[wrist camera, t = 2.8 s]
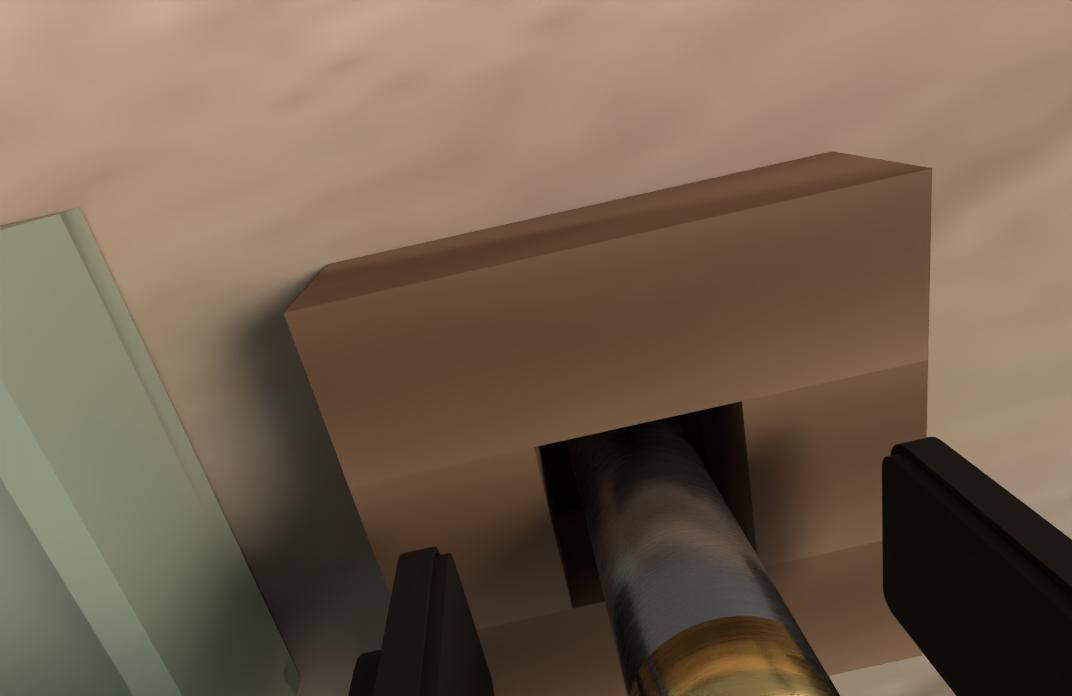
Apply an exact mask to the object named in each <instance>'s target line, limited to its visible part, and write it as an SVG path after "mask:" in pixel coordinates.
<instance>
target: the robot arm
mask: <svg viewBox="0 0 1072 696" xmlns="http://www.w3.org/2000/svg"><path fill="white" fill-rule="evenodd" d="M882 547H883V593H884V597H885V600H886V603H887V605H888V607H889V609H890V611H891V612H892V614H893V615H894V617H895V618H896V619H897V621H898V622H899V623H900V624H901V626H902V627H903V628H904V629H905V631H906V632H907V633H908V635H909V636H910V637H911V638H912V640H913V641H914V642H915V643H916V645H917V646H918V647H919V649H920V650H921V651H922V652H923V654H924V655H925V656H926V658H927V659H928V660H929V661H930V663H931V664H932V665H933V666H934V668H935V669H936V670H937V672H938V673H939V674H940V675H941V677H942V678H943V679H944V680H945V682H946V683H947V684H948V686H949V687H950V688H951V689H952V691H953V692H954V693H955V695H956V696H1072V540H1071V539H1070V538H1069V537H1067V536H1066V535H1065V534H1063V533H1062V532H1061V531H1059V530H1058V529H1057V528H1056V527H1054V526H1053V525H1052V524H1050V523H1049V522H1048V521H1046V520H1045V519H1044V518H1042V517H1041V516H1040V515H1038V514H1037V513H1036V512H1035V511H1033V510H1032V509H1031V508H1029V507H1028V506H1027V505H1025V504H1024V503H1023V502H1021V501H1020V500H1019V499H1017V498H1016V497H1015V496H1013V495H1012V494H1011V493H1010V492H1008V491H1007V490H1006V489H1004V488H1003V487H1002V486H1000V485H999V484H998V483H996V482H995V481H994V480H992V479H991V478H990V477H988V476H987V475H986V474H985V473H983V472H982V471H981V470H979V469H978V468H977V467H975V466H974V465H973V464H971V463H970V462H969V461H967V460H966V459H965V458H963V457H962V456H961V455H960V454H958V453H957V452H956V451H954V450H953V449H952V448H950V447H949V446H948V445H946V444H945V443H944V442H942V441H941V440H939V439H938V438H936V437H927V438H923V439H918V440H914V441H909V442H905V443H900V444H896V445H895V446H893V448H892V450H891V454H890V456H886V457H885V458H884V459H883V461H882ZM348 696H494V689H493V683H492V678H491V674H490V671H489V668H488V665H487V662H486V659H485V656H484V652H483V649H482V646H481V643H480V640H479V637H478V634H477V631H476V627H475V624H474V621H473V618H472V615H471V612H470V609H469V605H468V602H467V599H466V596H465V593H464V590H463V587H462V584H461V580H460V577H459V574H458V571H457V568H456V565H455V562H454V559H453V556H452V554H451V553H446V554H442V555H440V552H439V550H438V549H437V547H435V546H433V547H429V548H424V549H420V550H415V551H411V552H406V553H402V554H400V555H399V558H398V562H397V568H396V573H395V579H394V584H393V589H392V595H391V600H390V606H389V611H388V617H387V622H386V628H385V633H384V639H383V644H382V650H377V651H373V652H368V653H364V654H361V655H360V657H359V658H358V659H357V662H356V665H355V668H354V673H353V677H352V682H351V686H350V691H349V695H348Z"/></svg>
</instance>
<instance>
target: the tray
mask: <svg viewBox="0 0 1072 696" xmlns="http://www.w3.org/2000/svg"><path fill="white" fill-rule="evenodd" d="M300 680H301V678H300V676H299V673H298V671H297V669H296V667H295V665H294V663H293V661H292V659H291V656H290V654H289V652H288V650H287V648H286V646H285V644H284V642H283V639H282V637H281V635H280V633H279V631H278V629H277V627H276V625H275V622H274V620H273V618H272V616H271V614H270V612H269V610H268V608H267V605H266V603H265V601H264V599H263V597H262V595H261V593H260V591H259V588H258V586H257V584H256V582H255V580H254V578H253V576H252V574H251V571H250V569H249V567H248V565H247V563H246V561H245V559H244V557H243V554H242V552H241V550H240V548H239V546H238V544H237V542H236V540H235V537H234V535H233V533H232V531H231V529H230V527H229V525H228V523H227V520H226V518H225V516H224V514H223V512H222V510H221V508H220V506H219V503H218V501H217V499H216V497H215V495H214V493H213V491H212V489H211V486H210V484H209V482H208V480H207V478H206V476H205V474H204V472H203V469H202V467H201V465H200V463H199V461H198V459H197V457H196V455H195V452H194V450H193V448H192V446H191V444H190V442H189V440H188V438H187V435H186V433H185V431H184V429H183V427H182V425H181V423H180V421H179V418H178V416H177V414H176V412H175V410H174V408H173V406H172V404H171V401H170V399H169V397H168V395H167V393H166V391H165V389H164V387H163V384H162V382H161V380H160V378H159V376H158V374H157V372H156V370H155V367H154V365H153V363H152V361H151V359H150V357H149V355H148V353H147V350H146V348H145V346H144V344H143V342H142V340H141V338H140V336H139V333H138V331H137V329H136V327H135V325H134V323H133V321H132V319H131V316H130V314H129V312H128V310H127V308H126V306H125V304H124V302H123V299H122V297H121V295H120V293H119V291H118V289H117V287H116V285H115V282H114V280H113V278H112V276H111V274H110V272H109V270H108V268H107V265H106V263H105V261H104V259H103V257H102V255H101V253H100V251H99V248H98V246H97V244H96V242H95V240H94V238H93V236H92V233H91V231H90V229H89V227H88V225H87V223H86V221H85V219H84V216H83V214H82V212H81V210H80V208H77V209H72V210H68V211H64V212H59V213H55V214H50V215H46V216H41V217H37V218H32V219H28V220H24V221H19V222H15V223H10V224H6V225H1V226H0V696H296V693H297V690H298V687H299V683H300Z"/></svg>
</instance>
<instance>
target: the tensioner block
mask: <svg viewBox="0 0 1072 696" xmlns="http://www.w3.org/2000/svg"><path fill="white" fill-rule="evenodd" d="M931 194H932V168H927V167H921V166H915V165H910V164H904V163H898V162H892V161H886V160H880V159H874V158H868V157H862V156H856V155H850V154H844V153H838V152H829V153H824V154H820V155H815V156H811V157H806V158H802V159H797V160H793V161H788V162H784V163H779V164H775V165H770V166H766V167H762V168H757V169H753V170H748V171H744V172H739V173H735V174H730V175H726V176H721V177H717V178H712V179H708V180H703V181H699V182H694V183H690V184H686V185H681V186H677V187H672V188H668V189H663V190H659V191H654V192H650V193H645V194H641V195H636V196H632V197H627V198H623V199H618V200H614V201H610V202H605V203H601V204H596V205H592V206H587V207H583V208H578V209H574V210H569V211H565V212H560V213H556V214H551V215H547V216H542V217H538V218H533V219H529V220H525V221H520V222H516V223H511V224H507V225H502V226H498V227H493V228H489V229H484V230H480V231H475V232H471V233H466V234H462V235H457V236H453V237H449V238H444V239H440V240H435V241H431V242H426V243H422V244H417V245H413V246H408V247H404V248H399V249H395V250H390V251H386V252H381V253H377V254H373V255H368V256H364V257H359V258H355V259H350V260H346V261H341V262H337V263H332V264H328V265H327V266H326V267H325V268H324V269H323V270H322V271H321V272H320V273H319V275H318V276H317V277H316V278H315V279H314V280H313V281H312V282H311V283H310V284H309V286H308V287H307V288H306V289H305V290H304V291H303V292H302V293H301V294H300V295H299V296H298V298H297V299H296V300H295V301H294V302H293V303H292V304H291V305H290V306H289V307H288V309H287V310H286V311H285V312H284V316H285V319H286V321H287V324H288V327H289V329H290V332H291V335H292V337H293V340H294V343H295V345H296V348H297V351H298V353H299V356H300V359H301V361H302V364H303V367H304V369H305V372H306V375H307V377H308V380H309V383H310V385H311V388H312V391H313V393H314V396H315V399H316V401H317V404H318V407H319V409H320V412H321V415H322V417H323V420H324V423H325V425H326V428H327V431H328V433H329V436H330V439H331V441H332V444H333V447H334V449H335V452H336V454H337V457H338V460H339V462H340V465H341V468H342V470H343V473H344V476H345V478H346V481H347V484H348V486H349V489H350V492H351V494H352V497H353V500H354V502H355V505H356V508H357V510H358V513H359V516H360V518H361V521H362V524H363V526H364V529H365V532H366V534H367V537H368V540H369V542H370V545H371V548H372V550H373V553H374V556H375V558H376V561H377V564H378V566H379V569H380V572H381V574H382V577H383V580H384V582H385V585H386V588H387V590H388V593H389V596H390V598H391V595H392V589H393V584H394V579H395V573H396V568H397V562H398V558H399V555H400V554H402V553H406V552H411V551H415V550H420V549H424V548H429V547H433V546H435V547H437V549H438V550H439V552H440V555H442V554H446V553H451V554H452V556H453V559H454V562H455V565H456V568H457V571H458V574H459V577H460V580H461V584H462V587H463V590H464V593H465V596H466V599H467V602H468V605H469V609H470V612H471V615H472V618H473V621H474V624H475V627H476V631H477V634H478V637H479V640H480V643H481V646H482V649H483V652H484V656H485V659H486V662H487V665H488V668H489V671H490V674H491V678H492V683H493V689H494V696H628V695H627V691H626V687H625V683H624V679H623V674H622V670H621V666H620V662H619V658H618V653H617V649H616V645H615V641H614V637H613V633H612V628H611V624H610V620H609V616H608V612H607V607H606V603H605V599H604V595H603V591H602V586H601V582H600V578H599V574H598V570H597V565H596V561H595V557H594V553H593V549H592V545H591V540H590V536H589V532H588V528H587V524H586V519H585V515H584V511H583V508H580V509H575V510H571V511H566V512H562V513H557V514H556V510H555V506H554V502H553V498H552V494H551V489H550V485H549V481H548V477H547V473H546V468H545V464H544V460H543V456H542V451H541V447H540V446H541V445H546V444H550V443H555V442H559V441H564V440H568V439H573V438H578V437H582V436H587V435H591V434H596V433H600V432H605V431H609V430H614V429H618V428H623V427H627V426H632V425H636V424H641V423H645V422H650V421H654V420H659V419H663V418H668V417H673V416H677V415H682V414H686V413H691V412H695V411H699V415H700V423H701V431H702V438H703V446H704V454H705V462H706V470H707V472H708V473H709V475H710V477H711V478H712V480H713V482H714V483H715V485H716V487H717V488H718V490H719V492H720V494H721V495H722V497H723V499H724V500H725V502H726V504H727V505H728V507H729V509H730V510H731V512H732V514H733V516H734V517H735V519H736V521H737V522H738V524H739V526H740V527H741V529H742V531H743V532H744V534H745V536H746V538H747V539H748V541H749V543H750V544H751V546H752V548H753V549H754V551H755V553H756V554H757V556H758V558H759V560H760V561H761V563H762V565H763V566H764V568H765V570H766V571H767V573H768V575H769V576H770V578H771V580H772V582H773V583H774V585H775V587H776V588H777V590H778V592H779V593H780V595H781V597H782V598H783V600H784V602H785V604H786V605H787V607H788V609H789V610H790V612H791V614H792V615H793V617H794V619H795V620H796V622H797V624H798V626H799V627H800V629H801V631H802V632H803V634H804V636H805V637H806V639H807V641H808V642H809V644H810V646H811V647H812V649H813V651H814V653H815V654H816V656H817V658H818V659H819V661H820V663H821V664H822V666H823V668H824V669H825V671H826V673H827V675H828V676H830V675H834V674H839V673H843V672H848V671H853V670H857V669H862V668H866V667H871V666H876V665H880V664H885V663H889V662H894V661H899V660H903V659H908V658H912V657H917V656H922V651H921V650H920V649H919V647H918V646H917V645H916V643H915V642H914V641H913V640H912V638H911V637H910V636H909V635H908V633H907V632H906V631H905V629H904V628H903V627H902V626H901V624H900V623H899V622H898V621H897V619H896V618H895V617H894V615H893V614H892V612H891V611H890V609H889V607H888V605H887V603H886V600H885V597H884V593H883V547H882V461H883V459H884V458H885V457H886V456H890V454H891V450H892V448H893V446H895V445H896V444H900V443H905V442H909V441H914V440H918V439H923V438H926V430H927V383H928V335H929V288H930V241H931Z"/></svg>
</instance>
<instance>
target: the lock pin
mask: <svg viewBox="0 0 1072 696" xmlns="http://www.w3.org/2000/svg"><path fill="white" fill-rule="evenodd" d="M567 444H568V448H569V452H570V457H571V461H572V465H573V469H574V473H575V477H576V482H577V486H578V490H579V494H580V498H581V503H582V507H583V511H584V515H585V519H586V524H587V528H588V532H589V536H590V540H591V545H592V549H593V553H594V557H595V561H596V565H597V570H598V574H599V578H600V582H601V586H602V591H603V595H604V599H605V603H606V607H607V612H608V616H609V620H610V624H611V628H612V633H613V637H614V641H615V645H616V649H617V653H618V658H619V662H620V666H621V670H622V674H623V679H624V683H625V687H626V691H627V695H628V696H840V695H839V693H838V691H837V690H836V688H835V686H834V685H833V683H832V681H831V680H830V678H829V676H828V675H827V673H826V671H825V669H824V668H823V666H822V664H821V663H820V661H819V659H818V658H817V656H816V654H815V653H814V651H813V649H812V647H811V646H810V644H809V642H808V641H807V639H806V637H805V636H804V634H803V632H802V631H801V629H800V627H799V626H798V624H797V622H796V620H795V619H794V617H793V615H792V614H791V612H790V610H789V609H788V607H787V605H786V604H785V602H784V600H783V598H782V597H781V595H780V593H779V592H778V590H777V588H776V587H775V585H774V583H773V582H772V580H771V578H770V576H769V575H768V573H767V571H766V570H765V568H764V566H763V565H762V563H761V561H760V560H759V558H758V556H757V554H756V553H755V551H754V549H753V548H752V546H751V544H750V543H749V541H748V539H747V538H746V536H745V534H744V532H743V531H742V529H741V527H740V526H739V524H738V522H737V521H736V519H735V517H734V516H733V514H732V512H731V510H730V509H729V507H728V505H727V504H726V502H725V500H724V499H723V497H722V495H721V494H720V492H719V490H718V488H717V487H716V485H715V483H714V482H713V480H712V478H711V477H710V475H709V473H708V472H707V470H706V468H705V466H704V465H703V463H702V461H701V460H700V458H699V456H698V455H697V453H696V451H695V450H694V448H693V446H692V445H691V443H690V441H689V439H688V438H687V436H686V434H685V433H684V431H683V429H682V428H681V426H680V424H679V423H678V421H677V419H676V417H675V416H673V417H668V418H663V419H659V420H654V421H650V422H645V423H641V424H636V425H632V426H627V427H623V428H618V429H614V430H609V431H605V432H600V433H596V434H591V435H587V436H582V437H578V438H573V439H568V440H567Z"/></svg>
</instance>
